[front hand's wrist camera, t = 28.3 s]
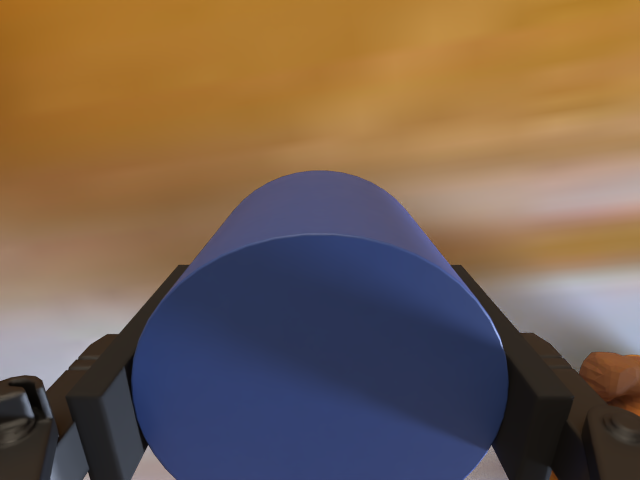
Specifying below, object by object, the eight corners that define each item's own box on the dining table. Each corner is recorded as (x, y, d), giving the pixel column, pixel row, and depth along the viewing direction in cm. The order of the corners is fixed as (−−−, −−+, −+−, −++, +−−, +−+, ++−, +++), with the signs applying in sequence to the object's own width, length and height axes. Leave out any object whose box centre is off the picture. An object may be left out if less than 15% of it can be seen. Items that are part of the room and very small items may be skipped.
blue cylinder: (278, 389, 18) (252, 567, 11) (171, 231, 15) (47, 339, 8) (455, 317, 16) (552, 470, 10) (374, 128, 14) (428, 154, 7)
